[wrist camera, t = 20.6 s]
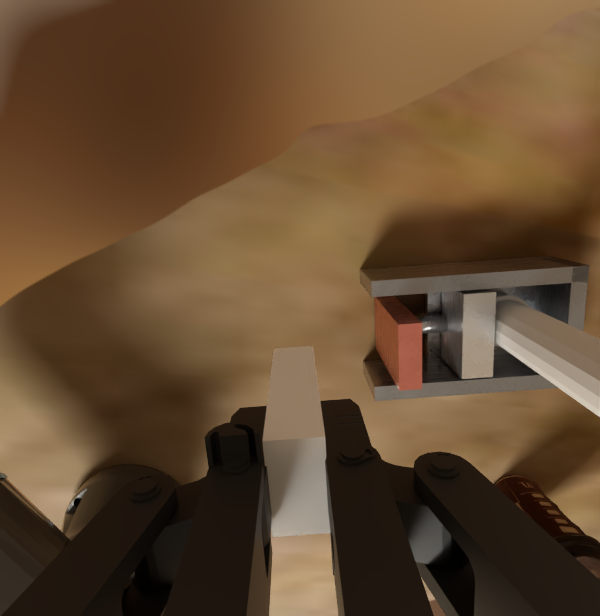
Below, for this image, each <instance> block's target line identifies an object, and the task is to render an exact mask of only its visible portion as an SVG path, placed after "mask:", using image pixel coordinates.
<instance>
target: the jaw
mask: <svg viewBox="0 0 600 616" xmlns="http://www.w3.org/2000/svg"><path fill="white" fill-rule="evenodd" d="M374 302H375V336H376V350H377V351H378V353H379V355H380V357H381V359H382V360H383V362H384V364H385V366H386V368H387V369H388V371H389V373H390V375H391V377H392V378H393V380H394V382H395V384H396V386H397V387H398V389H399V391H401V390H415V389H422V334H424V333H438V332H442V334H441V357H442V358H443V360H444V361H445V362H446V363H447V364H448V365H449V366H450V367H451V368H452V369H453V370H454V371H455V372H456V373H457V374H458V376H459V377H460V378H461V379H471V378H484V377H493V360H494V336H495V312H496V292H495V291H493V290H491V289H478V290H464V291H450V292H442V315H436V316H422V317H415V316H414V315H413V314H412V313H411V312H410V311H409V310H408V309H407V308H406V307H405V306H404V305H403V304H402V303H401V302H400V301H399V300H398V299H397V298H396V297H395V296H381V297H374Z"/></svg>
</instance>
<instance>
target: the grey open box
mask: <svg viewBox="0 0 600 616" xmlns="http://www.w3.org/2000/svg"><path fill="white" fill-rule="evenodd" d="M588 273H589V265H585V264H581V263H576V262H572V261H567V260H563V259H558V258H554V257H549V256H535V257H521V258H508V259H494V260H480V261H466V262H453V263H439V264H425V265H411V266H397V267H384V268H370V269H360V283H361V284H362V286H363V287H364V288H365V289H366V291H367V292H368V293H369V294H370V296H371V297H381V296H395V295H409V294H423V293H425V316H436V315H442V292H450V291H464V290H478V289H491V290H493V291H495V292H501V293H506V294H509V295H513V296H517V297H519V298H520V299H522V300H523V301H524V302H526V303H527V305H528V306H529V307H531V308H533V309H535V310H537V311H540V312H542V313H544V314H546V315H548V316H551V317H553V318H555V319H557V320H559V321H562V322H564V323H566V324H568V325H570V326H572V327H575V328H577V329H579V330H581V331H583V327H584V316H585V305H586V295H587V284H588ZM441 334H442V332H438V333H425V357H422V389H415V390H401V391H399V389H398V387H397V386H396V384H395V382H394V380H393V378H392V377H391V375H390V373H389V371H388V369H387V368H386V366H385V364H384V362H383V360H369V361H363V367H364V375H365V378H366V380H367V383H368V385H369V387H370V390H371V392H372V395H373V397H374V400H375V401H382V400H396V399H410V398H423V397H437V396H451V395H465V394H479V393H493V392H507V391H521V390H535V389H549V388H558V387H557V386H555V385H554V384H553V383H551V382H550V381H548V380H547V379H545V378H544V377H543V376H541V375H540V374H538V373H537V372H536V371H534V370H533V369H531V368H530V367H529V366H527V365H526V364H524V363H523V362H522V361H520V360H519V359H517V358H516V357H515V356H513V355H512V354H510V353H509V352H508V351H506V350H505V349H503V348H502V347H499V346H494V360H493V377H484V378H471V379H461V378H460V377H459V376H458V374H457V373H456V372H455V371H454V370H453V369H452V368H451V367H450V366H449V365H448V364H447V363H446V362H445V361H444V360H443V358H442V357H441Z"/></svg>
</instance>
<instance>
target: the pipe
mask: <svg viewBox="0 0 600 616" xmlns="http://www.w3.org/2000/svg"><path fill="white" fill-rule="evenodd" d="M494 346H499V347H502V348H503V349H505V350H506V351H508V352H509V353H510V354H512V355H513V356H515V357H516V358H517V359H519V360H520V361H522V362H523V363H524V364H526V365H527V366H529V367H530V368H531V369H533V370H534V371H536V372H537V373H538V374H540V375H541V376H543V377H544V378H545V379H547V380H548V381H550V382H551V383H553V384H554V385H555V386H557V387H558V388H560V389H561V390H562V391H564V392H565V393H567V394H568V395H569V396H571V397H572V398H574V399H575V400H576V401H578V402H579V403H581V404H582V405H583V406H585V407H586V408H588V409H589V410H590V411H592V412H593V413H595V414H596V415H597V416H599V417H600V339H599V338H597V337H594V336H592V335H590V334H588V333H586V332H583V331H581V330H579V329H577V328H575V327H572V326H570V325H568V324H566V323H564V322H562V321H559V320H557V319H555V318H553V317H551V316H548V315H546V314H544V313H542V312H540V311H537V310H535V309H533V308H531V307H529V306H528V305H527V303H526V302H524V301H523V300H522V299H520V298H519V297H517V296H513V295H509V294H506V293H501V292H496V312H495V336H494Z"/></svg>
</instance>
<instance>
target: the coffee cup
mask: <svg viewBox="0 0 600 616" xmlns="http://www.w3.org/2000/svg"><path fill="white" fill-rule="evenodd" d="M495 486H496V487H497V488H498V489H499V490H500V491H502V492H503V493H504V494H505V495H506V496H507V497H508V498H509V499H510V500H512V501H513V502H514V503H515V504H516V505H517V506H518V507H519V508H520V509H522V510H523V511H524V512H525V513H526V514H527V515H528V516H529V517H530V518H531V519H533V520H534V521H535V522H536V523H537V524H538V525H539V526H540V527H541V528H543V529H544V530H545V531H546V532H547V533H548V534H549V535H550V536H551V537H553V538H554V539H555V540H556V541H557V542H558V543H559V544H560V545H561V546H563V547H564V548H565V549H566V550H567V551H568V552H569V553H570V554H571V555H573V556H574V557H575V558H576V559H577V560H578V561H579V562H580V563H581V564H583V565H584V566H585V567H586V568H587V569H588V570H589V571H590V572H591V573H593V574H594V575H595V576H596V577H597V578H598V579H599V580H600V543H599V542H598V541H597V540H596V539H594V538H592V537H590V536H587V535H586V534H584V532H583V531H582V530H581V529H580V528H579V527H578V526H577V525H575V524H574V523H573V522H571V521H570V520H569V519H568V518H567V517H566V516H565V515H564V514H563V513H562V512H561V511H560V509H559V508H558V506H557V505H556V504H555V503H553V502H552V501H551V500H550V499H549V498H548V497H547V496H546V495H545V494H544V492H543V491H542V490H541V489H540V488H539V486H538V484H537V483H536V482H535V481H533V480H532V479H529V478H527V477H524V476H519V475H512V476H508V477H504V478H502V479H500V480H499V481H498V482H497V483H496V484H495Z"/></svg>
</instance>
